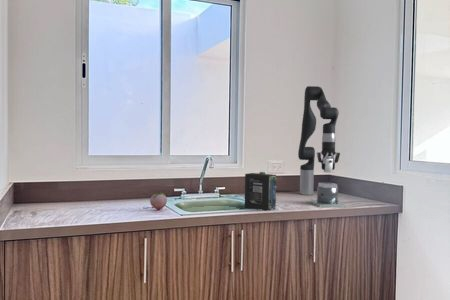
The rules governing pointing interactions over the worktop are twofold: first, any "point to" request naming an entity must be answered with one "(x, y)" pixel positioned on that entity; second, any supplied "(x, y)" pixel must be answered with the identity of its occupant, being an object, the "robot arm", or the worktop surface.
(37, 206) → the worktop surface
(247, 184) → the black labelled box
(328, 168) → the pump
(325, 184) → the motor
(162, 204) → the decorative fruit
